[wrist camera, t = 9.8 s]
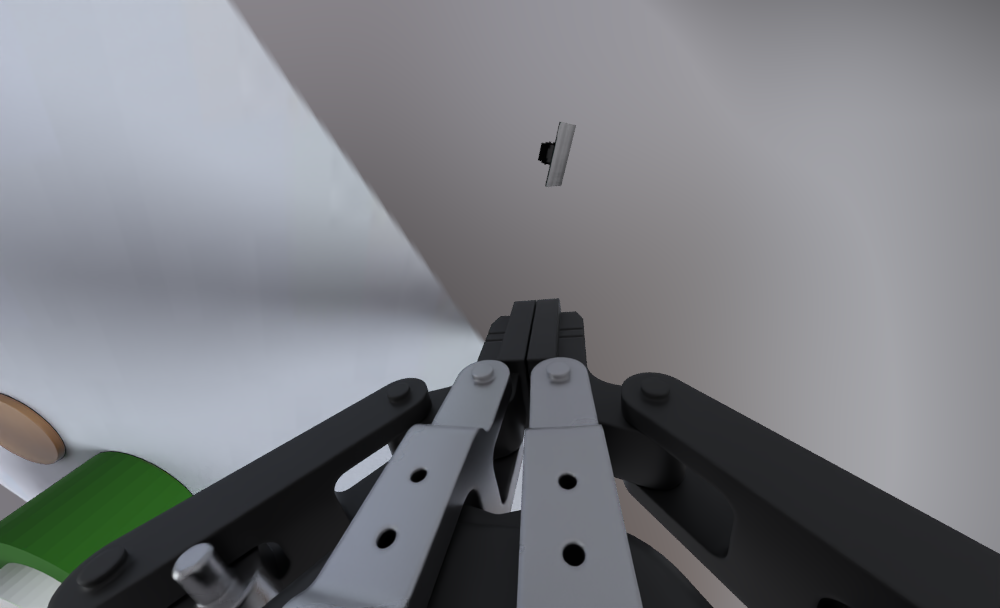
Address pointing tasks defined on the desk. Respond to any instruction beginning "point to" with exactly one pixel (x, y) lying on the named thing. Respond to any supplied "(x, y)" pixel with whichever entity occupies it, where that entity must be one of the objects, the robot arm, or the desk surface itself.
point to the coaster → (28, 433)
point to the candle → (78, 523)
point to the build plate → (557, 154)
